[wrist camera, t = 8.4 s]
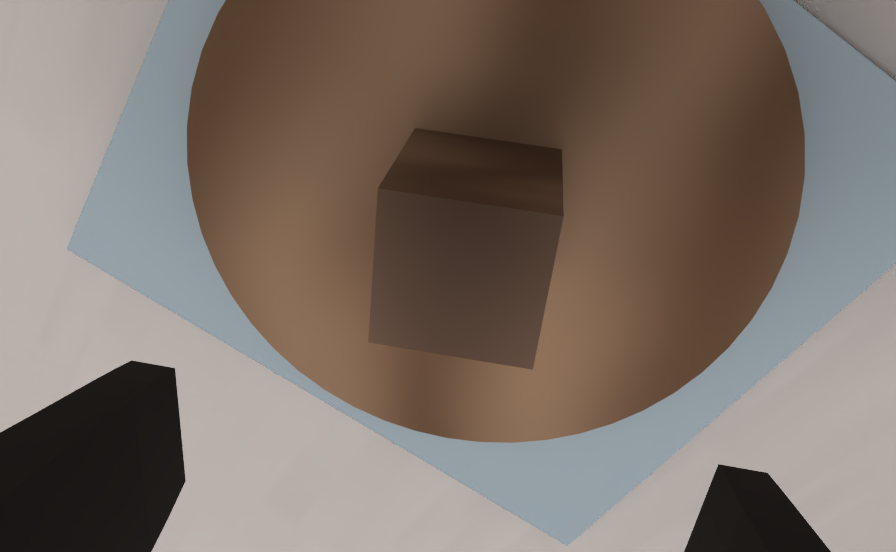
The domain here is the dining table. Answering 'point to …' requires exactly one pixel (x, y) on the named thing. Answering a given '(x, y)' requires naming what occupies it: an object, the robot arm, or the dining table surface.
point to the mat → (560, 459)
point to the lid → (497, 198)
